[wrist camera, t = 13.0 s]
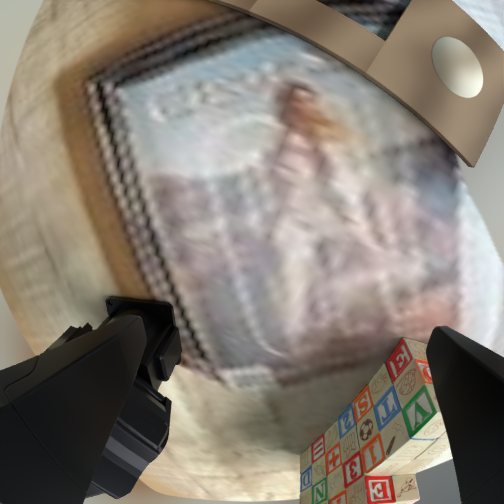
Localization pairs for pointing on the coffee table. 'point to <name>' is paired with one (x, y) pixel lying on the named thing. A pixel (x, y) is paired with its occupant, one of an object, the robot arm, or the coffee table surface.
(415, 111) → the socket board
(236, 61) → the coffee table surface
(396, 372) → the stack of blocks
